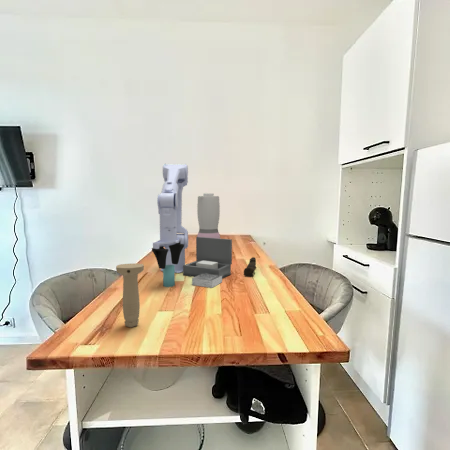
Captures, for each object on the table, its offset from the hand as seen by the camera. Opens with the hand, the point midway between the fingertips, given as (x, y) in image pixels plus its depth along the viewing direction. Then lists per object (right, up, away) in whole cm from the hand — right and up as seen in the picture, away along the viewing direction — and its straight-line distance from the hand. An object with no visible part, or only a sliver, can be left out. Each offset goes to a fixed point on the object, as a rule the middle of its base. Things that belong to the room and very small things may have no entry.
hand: (168, 266), depth 113 cm
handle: (-3, -11, -33) cm, 35 cm away
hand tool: (+30, -5, +22) cm, 37 cm away
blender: (+12, -2, +55) cm, 56 cm away
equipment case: (+13, -5, +15) cm, 20 cm away
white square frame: (+13, -7, +3) cm, 15 cm away
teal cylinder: (0, -7, +1) cm, 7 cm away
